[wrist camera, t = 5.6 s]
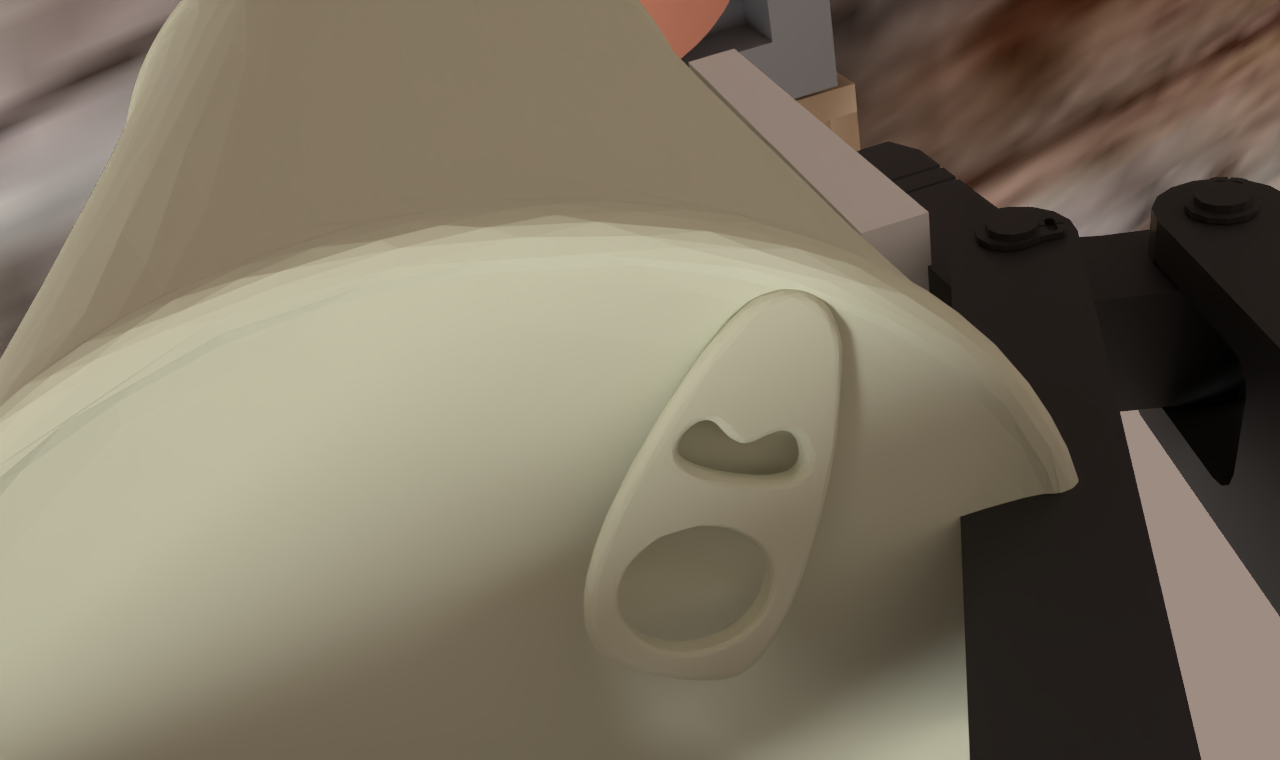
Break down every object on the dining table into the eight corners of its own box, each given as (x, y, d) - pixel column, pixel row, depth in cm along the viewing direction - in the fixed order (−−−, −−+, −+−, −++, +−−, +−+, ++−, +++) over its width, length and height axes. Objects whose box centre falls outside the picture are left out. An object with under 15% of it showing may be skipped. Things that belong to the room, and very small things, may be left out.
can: (788, 29, 17) (1392, 448, 7) (584, 469, 21) (800, 1134, 11) (194, -224, 13) (-204, -64, 4) (79, 367, 17) (-267, 1224, 7)
